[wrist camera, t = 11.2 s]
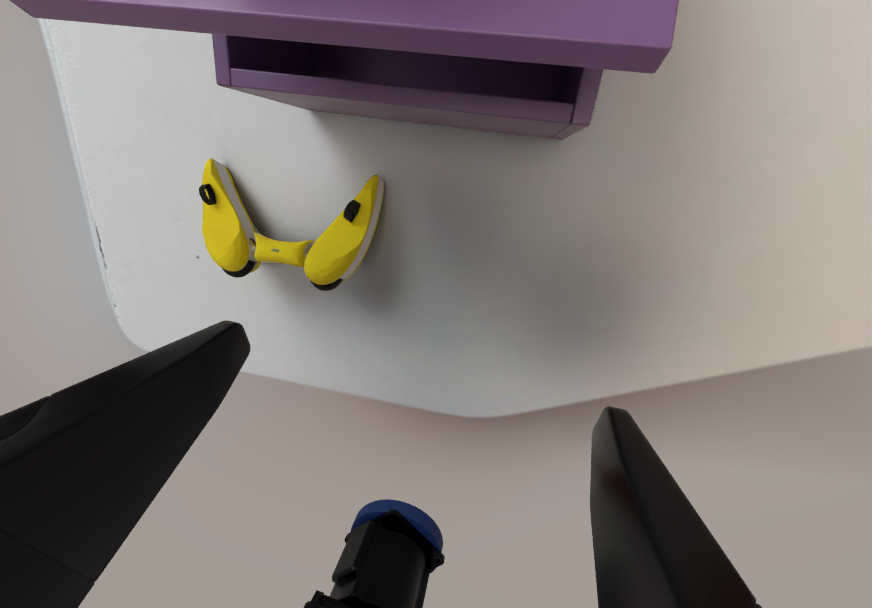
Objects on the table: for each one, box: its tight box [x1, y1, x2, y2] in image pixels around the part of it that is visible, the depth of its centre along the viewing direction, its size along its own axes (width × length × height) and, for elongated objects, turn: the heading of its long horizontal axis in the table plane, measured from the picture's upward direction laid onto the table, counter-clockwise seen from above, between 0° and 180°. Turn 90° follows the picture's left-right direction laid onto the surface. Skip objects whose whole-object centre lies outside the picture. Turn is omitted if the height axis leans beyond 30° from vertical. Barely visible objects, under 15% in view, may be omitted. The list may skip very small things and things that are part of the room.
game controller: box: [199, 158, 384, 291], centre depth 20 cm, size 10×6×4 cm, turn 85°
